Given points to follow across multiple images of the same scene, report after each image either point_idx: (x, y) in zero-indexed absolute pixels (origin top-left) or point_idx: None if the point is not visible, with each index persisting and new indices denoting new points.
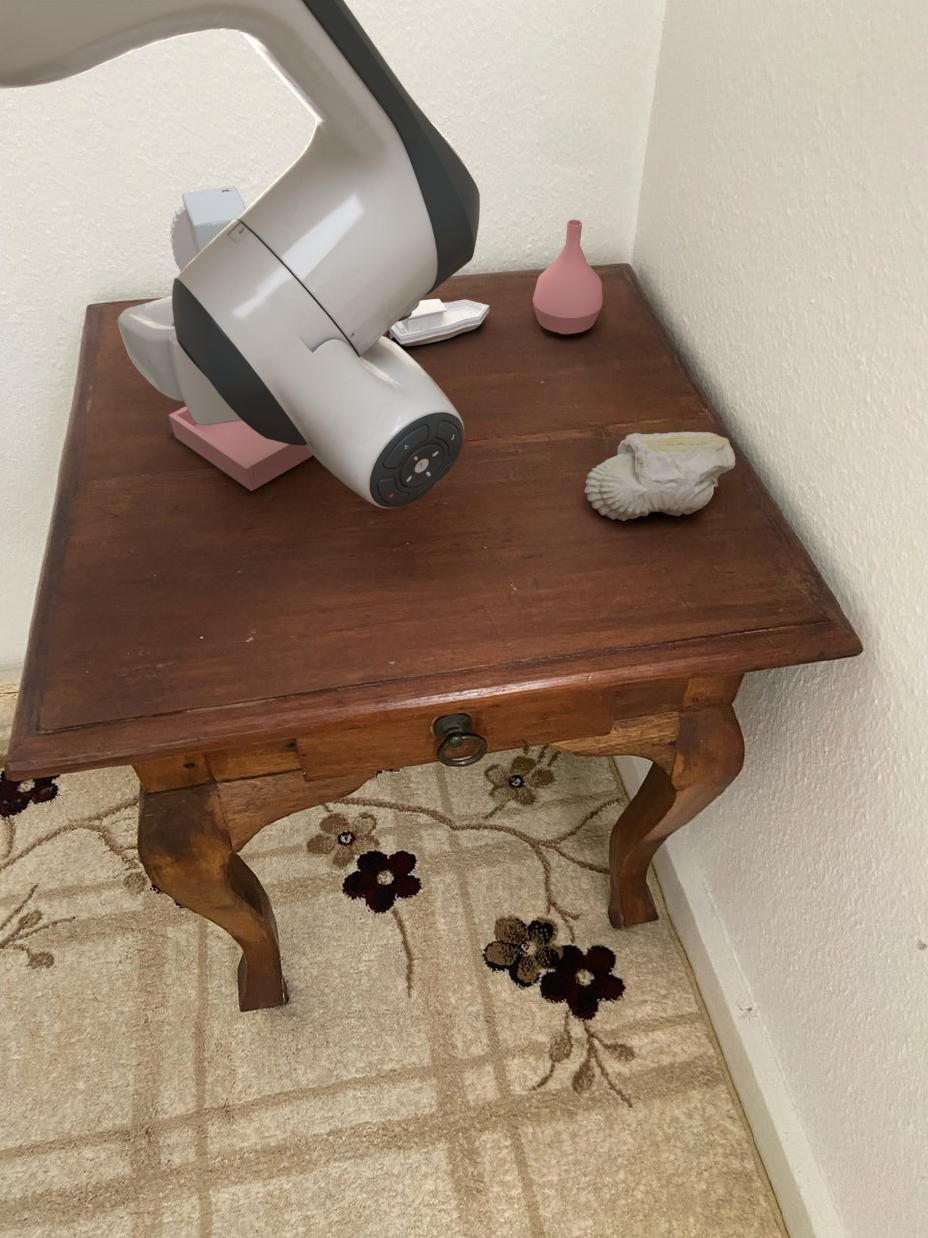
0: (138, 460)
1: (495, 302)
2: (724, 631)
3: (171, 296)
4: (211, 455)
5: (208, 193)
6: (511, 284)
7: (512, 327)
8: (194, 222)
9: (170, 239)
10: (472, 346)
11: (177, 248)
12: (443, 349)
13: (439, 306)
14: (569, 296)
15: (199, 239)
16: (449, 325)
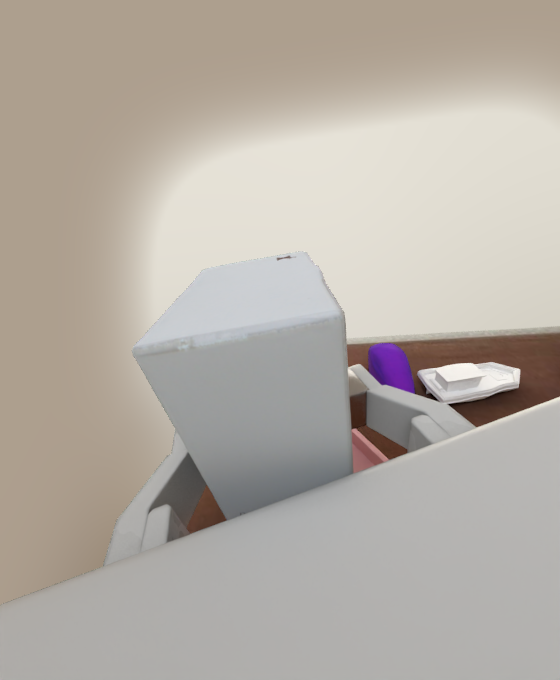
0: (196, 521)
1: (509, 361)
2: None
3: (9, 614)
4: None
5: (248, 265)
6: (514, 346)
7: (547, 389)
8: (143, 337)
9: None
10: (514, 409)
11: None
12: (483, 409)
13: (476, 371)
14: None
15: (158, 391)
16: (490, 389)
